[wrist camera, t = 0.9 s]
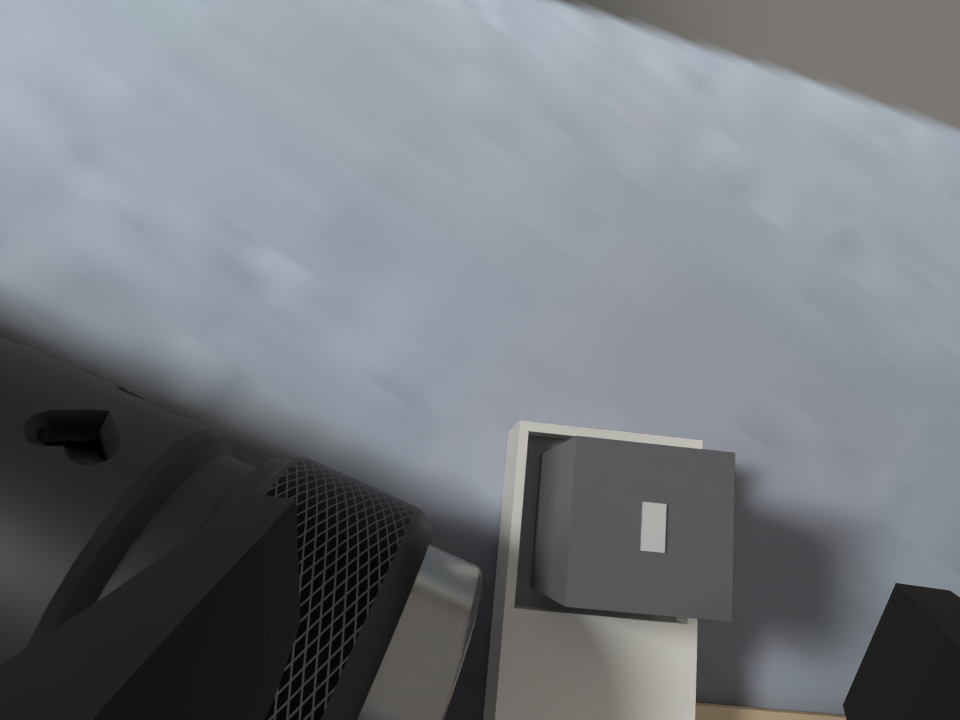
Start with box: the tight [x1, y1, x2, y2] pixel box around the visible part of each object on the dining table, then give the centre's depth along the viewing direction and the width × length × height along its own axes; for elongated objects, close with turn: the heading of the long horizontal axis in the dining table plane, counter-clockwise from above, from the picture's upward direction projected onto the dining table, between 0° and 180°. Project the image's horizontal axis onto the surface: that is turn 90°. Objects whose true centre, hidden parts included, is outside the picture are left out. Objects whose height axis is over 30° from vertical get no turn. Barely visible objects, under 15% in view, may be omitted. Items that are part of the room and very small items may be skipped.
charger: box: [530, 436, 735, 622], centre depth 21 cm, size 4×4×6 cm
